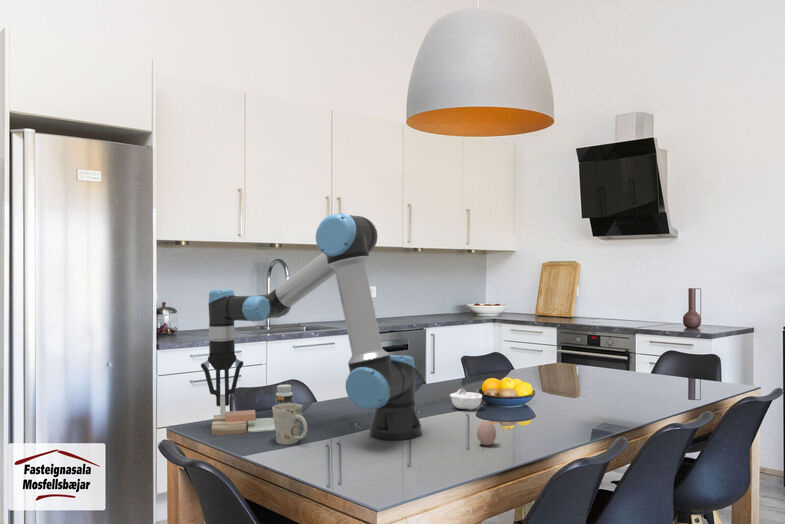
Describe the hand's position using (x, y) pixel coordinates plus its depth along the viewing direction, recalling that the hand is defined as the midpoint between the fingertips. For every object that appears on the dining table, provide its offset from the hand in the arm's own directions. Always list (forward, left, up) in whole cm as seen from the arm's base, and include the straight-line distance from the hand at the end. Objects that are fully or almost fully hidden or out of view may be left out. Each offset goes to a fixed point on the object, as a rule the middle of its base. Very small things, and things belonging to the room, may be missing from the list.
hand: (222, 416), depth 203 cm
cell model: (+5, -80, -4) cm, 81 cm away
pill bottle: (+13, -19, -4) cm, 24 cm away
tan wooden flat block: (0, -2, -4) cm, 4 cm away
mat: (+1, -13, -4) cm, 14 cm away
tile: (0, -5, -1) cm, 5 cm away
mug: (-23, -19, -4) cm, 30 cm away
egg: (-40, -70, -4) cm, 81 cm away
